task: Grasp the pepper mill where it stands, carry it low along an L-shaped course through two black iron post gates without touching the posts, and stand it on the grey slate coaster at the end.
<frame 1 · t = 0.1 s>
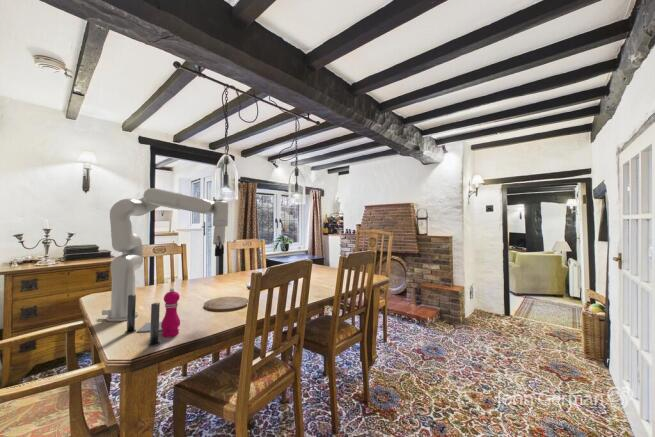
hand: (219, 255, 148), 31 cm above the table, fingers open, 9 cm apart
slate coaster: (154, 327, 125), on the table
pepper mill: (170, 334, 117), on the table
gate course: (145, 336, 115), on the table
trivet: (226, 305, 161), on the table
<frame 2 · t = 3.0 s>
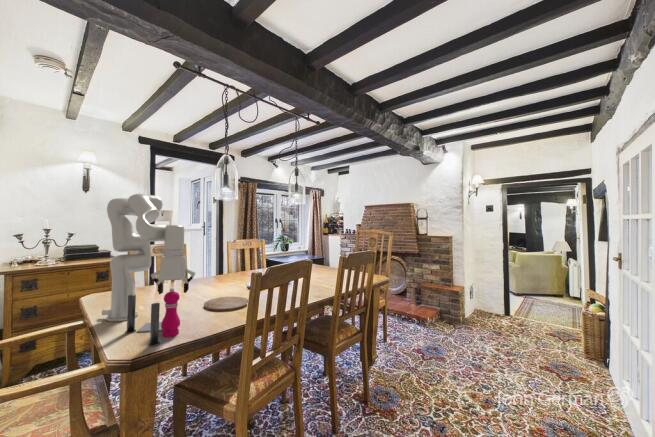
hand: (173, 292, 117), 18 cm above the table, fingers open, 9 cm apart
nothing on the table moved.
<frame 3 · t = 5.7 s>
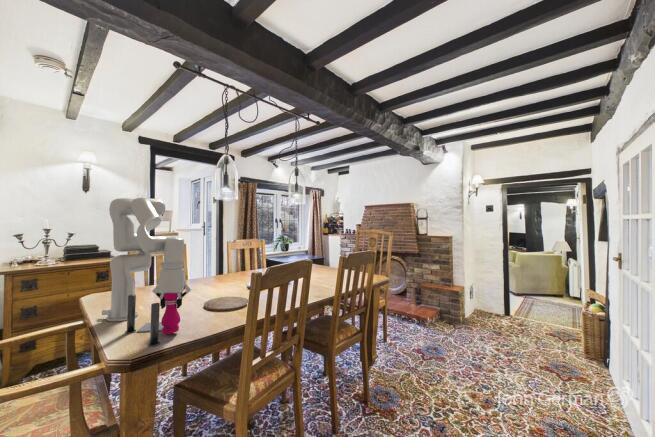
hand: (171, 307, 118), 12 cm above the table, fingers closed on pepper mill, 5 cm apart
pepper mill: (170, 331, 118), point 1 cm above the table, touching gripper
everything else where it was.
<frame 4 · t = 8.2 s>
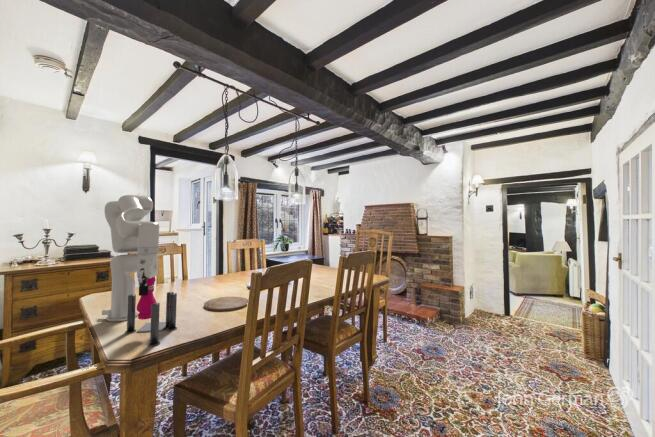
hand: (146, 293, 115), 18 cm above the table, fingers closed on pepper mill, 5 cm apart
pepper mill: (146, 317, 116), point 8 cm above the table, touching gripper
everything else where it was.
when the fingers open (11 cm above the table, at t = 10.8 s): pepper mill stays where it is, resting on slate coaster.
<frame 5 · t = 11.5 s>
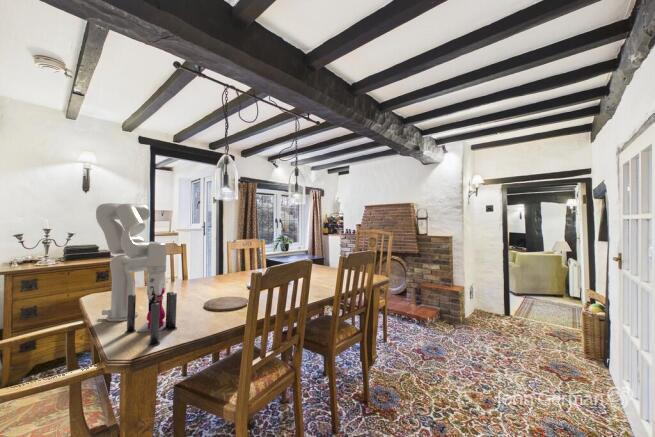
hand: (155, 308, 125), 9 cm above the table, fingers open, 5 cm apart
pepper mill: (155, 326, 125), resting on slate coaster, touching gripper
everything else where it was.
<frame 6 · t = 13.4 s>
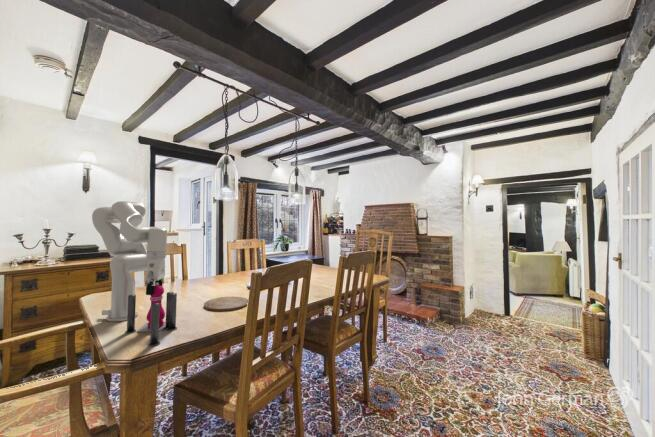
hand: (154, 291, 125), 16 cm above the table, fingers open, 9 cm apart
pepper mill: (155, 326, 125), resting on slate coaster
everything else where it was.
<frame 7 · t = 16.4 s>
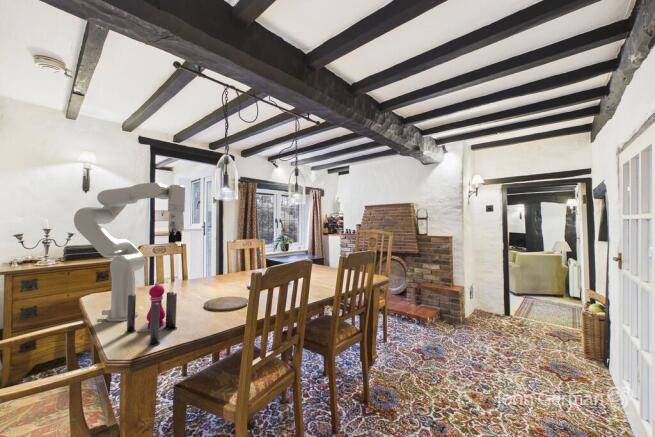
hand: (175, 242, 139), 38 cm above the table, fingers open, 9 cm apart
nothing on the table moved.
at the end: pepper mill inside the target area on the slate coaster (0.6 cm from its centre), point 0.4 cm above the slate coaster's base; pepper mill tilted 1°; pepper mill touching slate coaster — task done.
